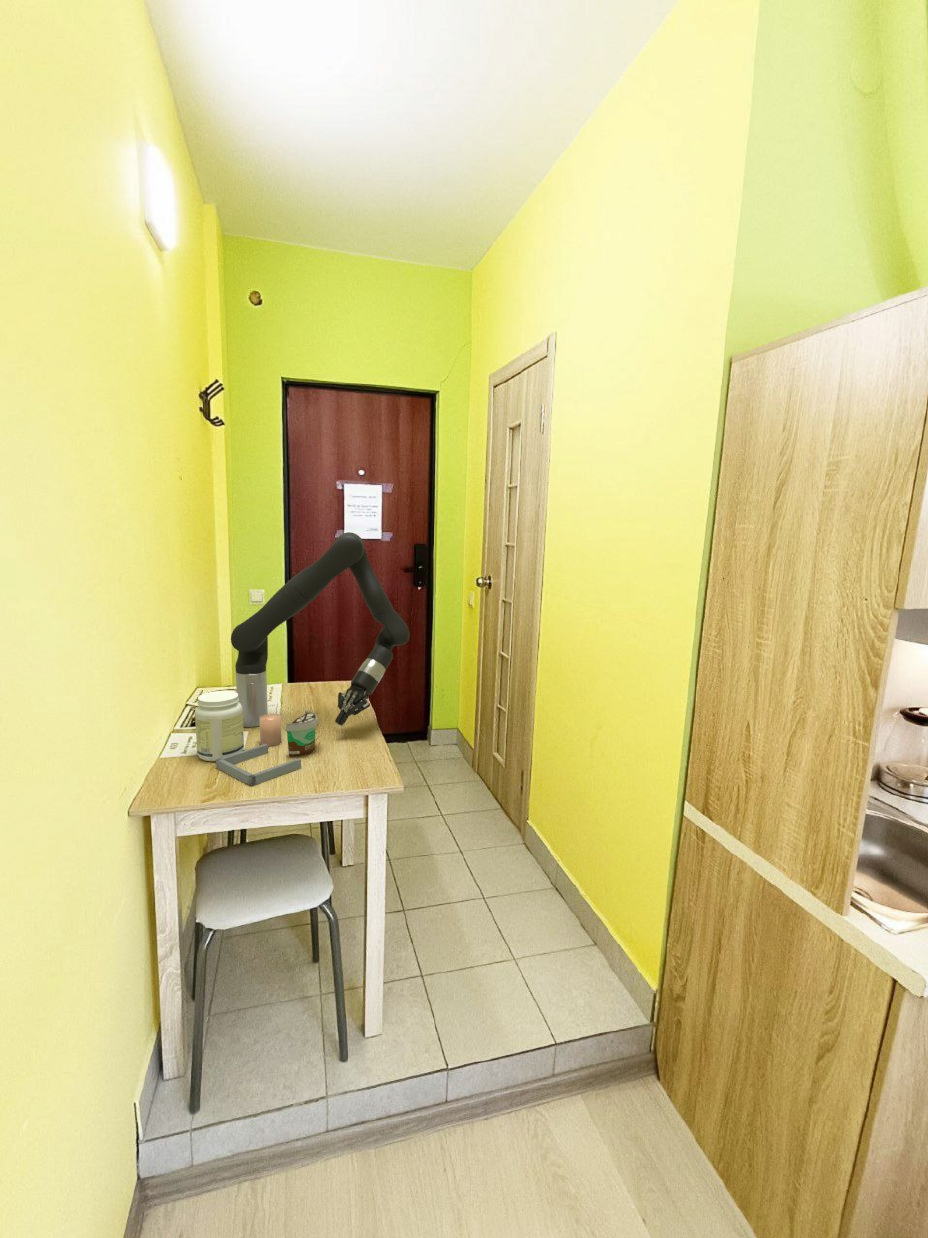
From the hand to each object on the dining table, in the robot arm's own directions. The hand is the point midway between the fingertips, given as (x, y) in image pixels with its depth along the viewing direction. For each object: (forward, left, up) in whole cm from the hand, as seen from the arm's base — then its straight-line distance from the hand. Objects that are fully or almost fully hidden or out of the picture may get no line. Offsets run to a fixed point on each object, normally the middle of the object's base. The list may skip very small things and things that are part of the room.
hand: (338, 724), depth 175 cm
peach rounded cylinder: (-13, -15, -5) cm, 20 cm away
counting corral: (0, -27, -5) cm, 28 cm away
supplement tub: (-16, -29, -5) cm, 33 cm away
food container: (0, -12, -5) cm, 13 cm away
